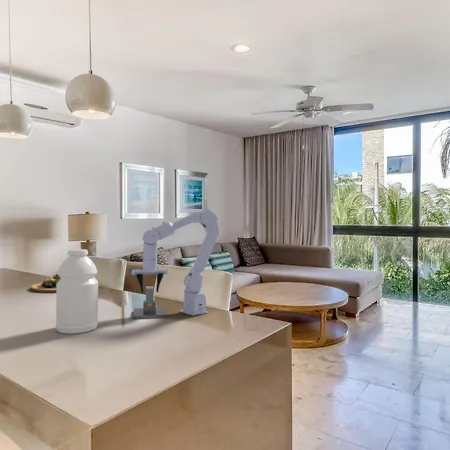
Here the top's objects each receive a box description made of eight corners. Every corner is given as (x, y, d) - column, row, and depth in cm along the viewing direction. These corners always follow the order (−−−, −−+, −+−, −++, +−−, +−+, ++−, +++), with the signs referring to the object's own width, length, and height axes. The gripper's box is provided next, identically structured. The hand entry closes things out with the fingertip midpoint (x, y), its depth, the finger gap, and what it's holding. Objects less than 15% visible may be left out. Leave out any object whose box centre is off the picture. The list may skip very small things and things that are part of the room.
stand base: (165, 310, 159) (165, 298, 159) (166, 317, 147) (166, 304, 146) (134, 311, 157) (134, 299, 157) (132, 319, 144) (132, 305, 144)
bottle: (57, 325, 135) (58, 248, 135) (97, 321, 139) (98, 248, 139) (54, 336, 121) (55, 251, 121) (98, 332, 126) (99, 250, 126)
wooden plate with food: (36, 285, 222) (36, 271, 222) (92, 283, 232) (92, 270, 232) (24, 295, 192) (24, 279, 192) (89, 292, 201) (89, 277, 201)
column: (153, 302, 153) (153, 286, 153) (153, 304, 150) (153, 287, 150) (145, 302, 153) (146, 286, 153) (145, 304, 150) (145, 287, 150)
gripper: (131, 260, 146) (131, 294, 146) (168, 259, 149) (167, 293, 149) (132, 258, 153) (132, 291, 153) (167, 258, 156) (167, 290, 156)
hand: (149, 292), depth 152 cm, fingers open, 5 cm apart
